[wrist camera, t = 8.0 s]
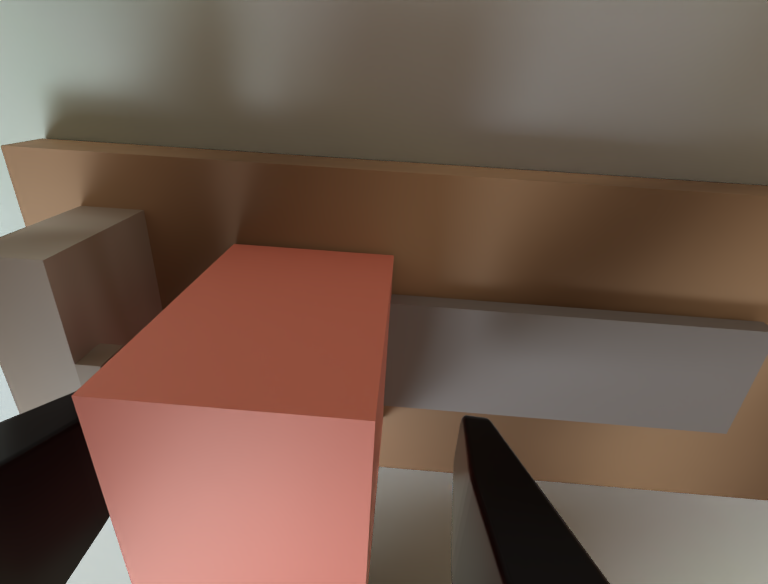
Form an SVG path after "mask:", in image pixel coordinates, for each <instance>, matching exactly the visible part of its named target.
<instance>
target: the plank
mask: <svg viewBox="0 0 768 584" xmlns="http://www.w3.org/2000/svg"><path fill="white" fill-rule="evenodd" d="M1 149H2V152H3V155H4V158H5V162H6V165H7V168H8V171H9V174H10V178H11V181H12V184H13V187H14V190H15V194H16V197H17V200H18V203H19V206H20V210H21V213H22V216H23V219H24V222H25V226H26V227H25V228H22V229H20V230H17V231H15V232H12V233H9V234H7V235H4V236H2V237H0V365H1V368H2V370H3V373H4V375H5V378H6V380H7V383H8V385H9V388H10V390H11V393H12V396H13V398H14V401H15V403H16V406H17V408H18V411H19V413H20V414H22V413H24V412H26V411H29V410H31V409H34V408H36V407H39V406H41V405H43V404H46V403H48V402H51V401H53V400H55V399H58V398H60V397H63V396H65V395H68V394H70V393H72V392H75V391H77V390H78V389H79V388H80V387H81V386H82V385H83V384H85V383H86V382H87V381H88V380H89V379H90V378H91V377H92V376H93V375H94V374H95V373H96V372H97V371H98V370H99V369H101V368H102V367H103V366H104V365H105V364H106V363H107V362H108V361H109V360H110V359H111V358H112V357H113V356H114V355H116V354H117V353H118V352H119V351H120V350H121V349H122V348H123V347H124V346H125V345H126V344H127V343H128V342H129V341H131V340H132V339H133V338H134V337H135V336H136V335H137V334H138V333H139V332H140V331H141V330H142V329H143V328H144V327H146V326H147V325H148V324H149V323H150V322H151V321H152V320H153V319H154V318H155V317H156V316H157V315H158V314H159V313H160V312H162V311H163V310H164V309H165V308H166V307H167V306H168V305H169V304H170V303H171V302H172V301H173V300H174V299H175V298H177V297H178V296H179V295H180V294H181V293H182V292H183V291H184V290H185V289H186V288H187V287H188V286H189V285H190V284H192V283H193V282H194V281H195V280H196V279H197V278H198V277H199V276H200V275H201V274H202V273H203V272H204V271H205V270H207V269H208V268H209V267H210V266H211V265H212V264H213V263H214V262H215V261H216V260H217V259H218V258H219V257H220V256H221V255H223V254H224V253H225V252H226V251H227V250H228V249H229V248H230V247H231V246H232V245H233V244H242V245H256V246H270V247H284V248H298V249H312V250H326V251H340V252H354V253H367V254H381V255H394V262H393V277H392V292H391V294H396V295H410V296H423V297H437V298H450V299H464V300H477V301H490V302H504V303H517V304H531V305H544V306H557V307H571V308H584V309H598V310H611V311H624V312H638V313H651V314H665V315H678V316H691V317H705V318H718V319H732V320H745V321H759V322H764V323H765V324H767V325H768V186H764V185H749V184H733V183H718V182H703V181H687V180H672V179H657V178H641V177H626V176H611V175H595V174H580V173H565V172H549V171H534V170H519V169H503V168H488V167H472V166H457V165H442V164H426V163H411V162H396V161H380V160H365V159H350V158H334V157H319V156H304V155H288V154H273V153H258V152H242V151H227V150H212V149H196V148H181V147H165V146H150V145H135V144H119V143H104V142H89V141H73V140H58V139H37V140H31V141H25V142H19V143H13V144H8V145H2V146H1ZM465 415H469V416H476V417H484V418H488V419H489V420H490V421H491V422H492V423H493V425H494V426H495V427H496V429H497V430H498V431H499V433H500V434H501V435H502V437H503V438H504V440H505V441H506V442H507V444H508V445H509V446H510V448H511V449H512V451H513V452H514V453H515V455H516V456H517V457H518V459H519V460H520V462H521V463H522V464H523V466H524V467H525V468H526V470H527V471H528V472H529V474H530V475H531V477H532V478H533V479H534V480H539V481H551V482H562V483H574V484H585V485H597V486H608V487H620V488H631V489H643V490H654V491H666V492H677V493H689V494H700V495H712V496H723V497H735V498H746V499H758V500H768V355H767V357H766V358H765V360H764V362H763V364H762V366H761V368H760V370H759V372H758V374H757V376H756V378H755V380H754V382H753V384H752V386H751V388H750V389H749V391H748V393H747V395H746V397H745V399H744V401H743V403H742V405H741V407H740V409H739V411H738V413H737V415H736V417H735V418H734V420H733V422H732V424H731V426H730V428H729V430H728V432H727V434H721V433H709V432H697V431H685V430H673V429H661V428H649V427H637V426H624V425H612V424H600V423H588V422H576V421H564V420H552V419H540V418H527V417H515V416H503V415H491V414H479V413H467V412H455V411H443V410H431V409H418V408H406V407H394V406H384V411H383V425H382V436H381V447H380V458H379V467H389V468H401V469H412V470H424V471H435V472H447V473H453V466H454V456H455V450H456V444H457V439H458V433H459V428H460V422H461V419H462V417H463V416H465Z"/></svg>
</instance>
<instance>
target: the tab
mask: <svg viewBox="0 0 768 584" xmlns="http://www.w3.org/2000/svg"><path fill="white" fill-rule="evenodd" d="M393 262H394V255H381V254H367V253H354V252H340V251H326V250H312V249H298V248H284V247H270V246H256V245H242V244H233V245H232V246H231V247H230V248H229V249H228V250H227V251H226V252H225V253H224V254H223V255H221V256H220V257H219V258H218V259H217V260H216V261H215V262H214V263H213V264H212V265H211V266H210V267H209V268H208V269H207V270H205V271H204V272H203V273H202V274H201V275H200V276H199V277H198V278H197V279H196V280H195V281H194V282H193V283H192V284H190V285H189V286H188V287H187V288H186V289H185V290H184V291H183V292H182V293H181V294H180V295H179V296H178V297H177V298H175V299H174V300H173V301H172V302H171V303H170V304H169V305H168V306H167V307H166V308H165V309H164V310H163V311H162V312H160V313H159V314H158V315H157V316H156V317H155V318H154V319H153V320H152V321H151V322H150V323H149V324H148V325H147V326H146V327H144V328H143V329H142V330H141V331H140V332H139V333H138V334H137V335H136V336H135V337H134V338H133V339H132V340H131V341H129V342H128V343H127V344H126V345H125V346H124V347H123V348H122V349H121V350H120V351H119V352H118V353H117V354H116V355H114V356H113V357H112V358H111V359H110V360H109V361H108V362H107V363H106V364H105V365H104V366H103V367H102V368H101V369H99V370H98V371H97V372H96V373H95V374H94V375H93V376H92V377H91V378H90V379H89V380H88V381H87V382H86V383H85V384H83V385H82V386H81V387H80V388H79V389H78V390H77V391H76V392H75V393H74V394H73V395H72V396H71V397H72V400H73V403H74V406H75V409H76V412H77V415H78V418H79V421H80V425H81V428H82V431H83V434H84V437H85V440H86V443H87V446H88V449H89V452H90V456H91V459H92V462H93V465H94V468H95V471H96V474H97V477H98V480H99V484H100V487H101V490H102V493H103V496H104V499H105V502H106V505H107V508H108V511H109V515H110V518H111V521H112V524H113V527H114V530H115V533H116V536H117V539H118V543H119V546H120V549H121V552H122V555H123V558H124V561H125V564H126V567H127V571H128V574H129V577H130V580H131V583H132V584H368V579H369V568H370V557H371V546H372V535H373V524H374V513H375V502H376V491H377V480H378V469H379V458H380V447H381V436H382V425H383V411H384V406H394V407H406V408H418V409H431V410H443V411H455V412H467V413H479V414H491V415H503V416H515V417H527V418H540V419H552V420H564V421H576V422H588V423H600V424H612V425H624V426H637V427H649V428H661V429H673V430H685V431H697V432H709V433H721V434H727V432H728V430H729V428H730V426H731V424H732V422H733V420H734V418H735V417H736V415H737V413H738V411H739V409H740V407H741V405H742V403H743V401H744V399H745V397H746V395H747V393H748V391H749V389H750V388H751V386H752V384H753V382H754V380H755V378H756V376H757V374H758V372H759V370H760V368H761V366H762V364H763V362H764V360H765V358H766V357H767V355H768V325H767V324H765V323H764V322H759V321H745V320H732V319H718V318H705V317H691V316H678V315H665V314H651V313H638V312H624V311H611V310H598V309H584V308H571V307H557V306H544V305H531V304H517V303H504V302H490V301H477V300H464V299H450V298H437V297H423V296H410V295H396V294H391V292H392V277H393Z"/></svg>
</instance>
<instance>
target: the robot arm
mask: <svg viewBox="0 0 768 584" xmlns="http://www.w3.org/2000/svg"><path fill="white" fill-rule="evenodd" d="M75 392H76V391H75ZM75 392H72V393H70V394H68V395H65V396H63V397H60V398H58V399H55V400H53V401H51V402H48V403H46V404H43V405H41V406H39V407H36V408H34V409H31V410H29V411H26V412H24V413H22V414H19V415H17V416H14V417H12V418H9V419H7V420H5V421H2V422H0V584H66V582H67V581H68V579H69V578H70V576H71V575H72V573H73V572H74V570H75V569H76V567H77V566H78V564H79V562H80V561H81V559H82V558H83V556H84V555H85V553H86V552H87V550H88V549H89V547H90V546H91V544H92V543H93V541H94V540H95V538H96V537H97V535H98V534H99V532H100V531H101V529H102V528H103V526H104V524H105V523H106V521H107V520H108V518H109V516H110V515H109V511H108V508H107V505H106V502H105V499H104V496H103V493H102V490H101V487H100V484H99V480H98V477H97V474H96V471H95V468H94V465H93V462H92V459H91V456H90V452H89V449H88V446H87V443H86V440H85V437H84V434H83V431H82V428H81V425H80V421H79V418H78V415H77V412H76V409H75V406H74V403H73V400H72V397H71V396H72V395H73V394H74V393H75ZM451 573H452V584H610V583H609V582H608V581H607V579H606V578H605V577H604V575H603V574H602V572H601V571H600V570H599V568H598V567H597V566H596V564H595V563H594V562H593V560H592V559H591V557H590V556H589V555H588V553H587V552H586V551H585V549H584V548H583V546H582V545H581V544H580V542H579V541H578V540H577V538H576V537H575V535H574V534H573V533H572V531H571V530H570V529H569V527H568V526H567V525H566V523H565V522H564V520H563V519H562V518H561V516H560V515H559V514H558V512H557V511H556V509H555V508H554V507H553V505H552V504H551V503H550V501H549V500H548V499H547V497H546V496H545V494H544V493H543V492H542V490H541V489H540V488H539V486H538V485H537V483H536V482H535V481H534V479H533V478H532V477H531V475H530V474H529V472H528V471H527V470H526V468H525V467H524V466H523V464H522V463H521V462H520V460H519V459H518V457H517V456H516V455H515V453H514V452H513V451H512V449H511V448H510V446H509V445H508V444H507V442H506V441H505V440H504V438H503V437H502V435H501V434H500V433H499V431H498V430H497V429H496V427H495V426H494V425H493V423H492V422H491V421H490V420H489V419H488V418H484V417H476V416H469V415H465V416H463V417H462V419H461V422H460V428H459V433H458V439H457V444H456V450H455V456H454V466H453V499H452V535H451Z"/></svg>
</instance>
